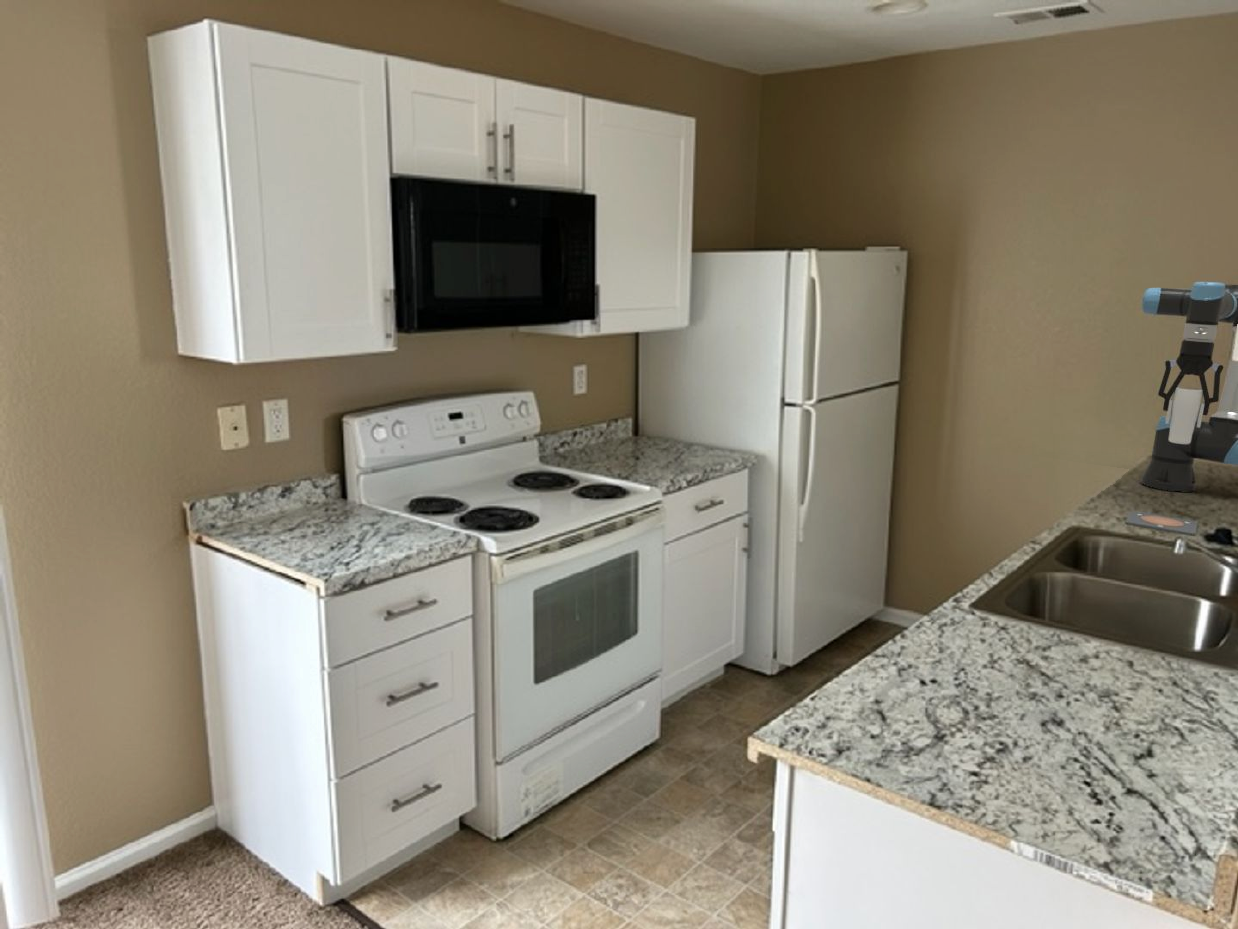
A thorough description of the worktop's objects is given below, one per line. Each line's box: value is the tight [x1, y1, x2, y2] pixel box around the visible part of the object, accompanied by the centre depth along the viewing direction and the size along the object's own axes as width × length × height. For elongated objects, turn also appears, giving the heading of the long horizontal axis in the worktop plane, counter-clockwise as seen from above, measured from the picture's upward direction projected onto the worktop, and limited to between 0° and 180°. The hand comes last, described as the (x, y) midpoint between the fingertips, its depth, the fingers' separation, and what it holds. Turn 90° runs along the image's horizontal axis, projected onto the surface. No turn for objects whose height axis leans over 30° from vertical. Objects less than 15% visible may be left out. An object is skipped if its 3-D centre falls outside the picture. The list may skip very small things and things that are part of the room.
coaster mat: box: [1124, 510, 1199, 537], centre depth 249 cm, size 16×16×1 cm
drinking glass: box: [1168, 386, 1204, 444], centre depth 253 cm, size 7×7×15 cm
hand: (1182, 424), depth 254 cm, fingers closed on drinking glass, 7 cm apart
